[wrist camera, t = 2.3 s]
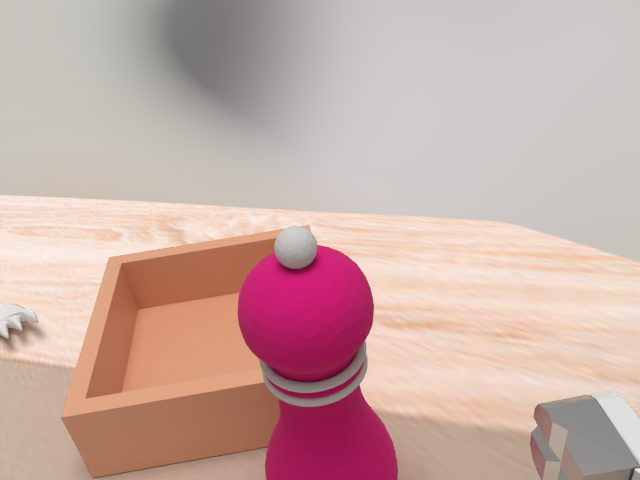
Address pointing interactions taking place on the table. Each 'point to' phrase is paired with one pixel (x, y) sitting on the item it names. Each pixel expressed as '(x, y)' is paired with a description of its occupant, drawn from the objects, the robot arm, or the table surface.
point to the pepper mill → (315, 361)
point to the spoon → (14, 317)
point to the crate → (170, 360)
